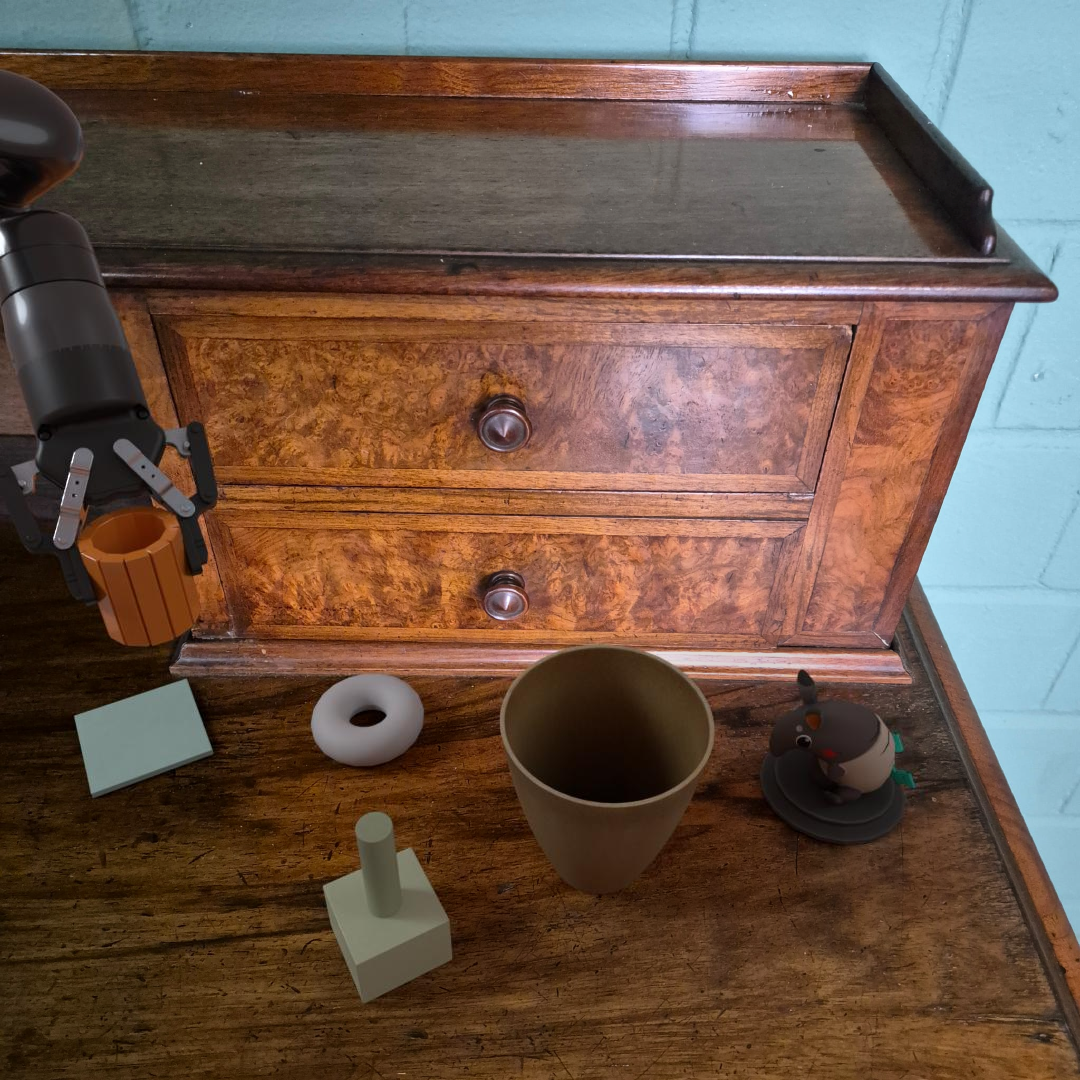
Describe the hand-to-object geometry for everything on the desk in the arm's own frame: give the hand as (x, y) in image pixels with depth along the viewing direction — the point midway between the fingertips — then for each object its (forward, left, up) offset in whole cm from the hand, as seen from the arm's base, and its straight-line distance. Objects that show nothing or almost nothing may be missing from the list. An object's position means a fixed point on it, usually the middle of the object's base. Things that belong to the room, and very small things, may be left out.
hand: (146, 587), depth 65 cm
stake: (+8, -19, -23) cm, 31 cm away
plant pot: (+25, -20, -24) cm, 40 cm away
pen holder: (0, +2, -4) cm, 4 cm away
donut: (+14, +1, -24) cm, 28 cm away
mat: (-4, +10, -23) cm, 26 cm away
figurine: (+46, -24, -24) cm, 57 cm away
